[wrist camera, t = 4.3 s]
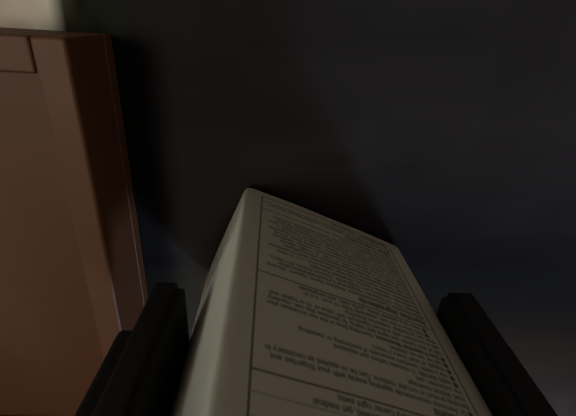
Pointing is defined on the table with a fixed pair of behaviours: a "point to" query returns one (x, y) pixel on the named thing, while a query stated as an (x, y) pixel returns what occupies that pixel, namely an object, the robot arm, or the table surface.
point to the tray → (62, 219)
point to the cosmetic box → (316, 326)
